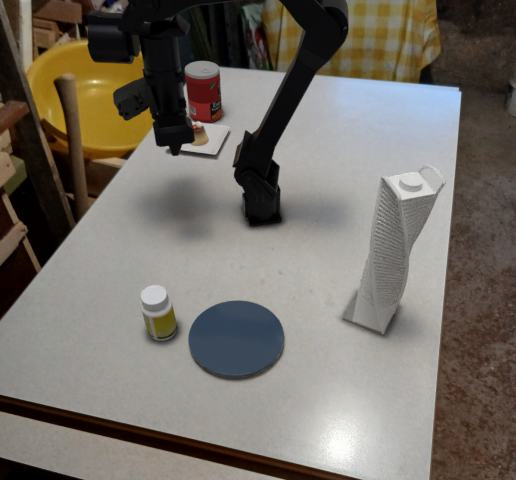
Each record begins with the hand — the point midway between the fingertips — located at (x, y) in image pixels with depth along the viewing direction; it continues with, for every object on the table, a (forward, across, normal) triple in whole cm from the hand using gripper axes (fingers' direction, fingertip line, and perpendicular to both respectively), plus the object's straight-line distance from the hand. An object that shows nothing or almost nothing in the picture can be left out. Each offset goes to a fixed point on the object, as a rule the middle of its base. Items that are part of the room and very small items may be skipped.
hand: (175, 154), depth 91 cm
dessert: (+12, -24, +7) cm, 27 cm away
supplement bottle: (+12, +30, -7) cm, 33 cm away
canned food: (+12, -35, +10) cm, 38 cm away
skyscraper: (+12, +35, +27) cm, 46 cm away
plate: (+12, +35, +4) cm, 37 cm away
